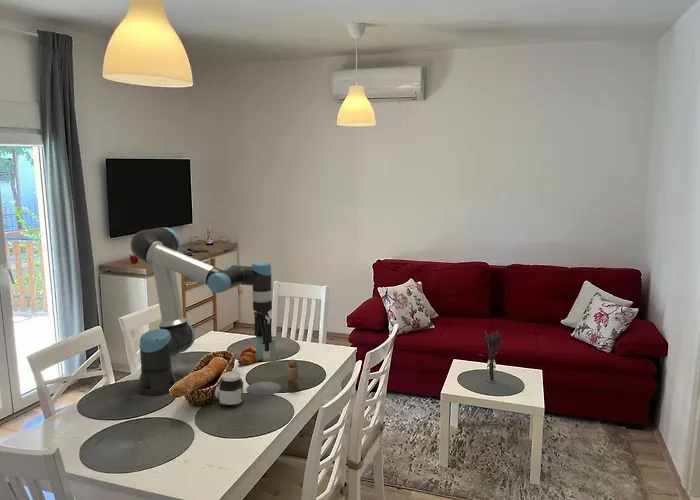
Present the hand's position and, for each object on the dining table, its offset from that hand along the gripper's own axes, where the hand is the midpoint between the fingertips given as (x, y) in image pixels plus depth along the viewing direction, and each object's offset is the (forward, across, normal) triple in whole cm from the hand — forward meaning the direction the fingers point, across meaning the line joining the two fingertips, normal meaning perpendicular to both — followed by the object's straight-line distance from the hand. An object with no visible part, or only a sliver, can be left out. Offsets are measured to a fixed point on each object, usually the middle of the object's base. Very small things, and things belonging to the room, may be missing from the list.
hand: (263, 355), depth 220 cm
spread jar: (+14, -6, +17) cm, 23 cm away
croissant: (+14, +35, -8) cm, 38 cm away
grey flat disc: (+14, 0, 0) cm, 14 cm away
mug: (0, 0, 0) cm, 0 cm away
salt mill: (+14, -7, -10) cm, 19 cm away
